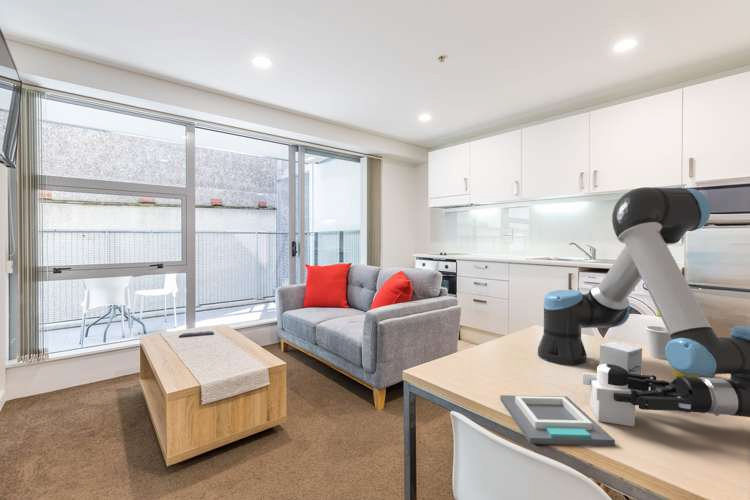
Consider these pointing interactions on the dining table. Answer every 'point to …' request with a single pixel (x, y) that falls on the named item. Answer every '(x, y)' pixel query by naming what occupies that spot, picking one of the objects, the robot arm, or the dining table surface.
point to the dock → (554, 421)
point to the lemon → (684, 374)
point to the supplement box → (622, 356)
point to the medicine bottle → (607, 409)
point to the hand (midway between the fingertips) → (589, 385)
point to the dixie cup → (657, 341)
